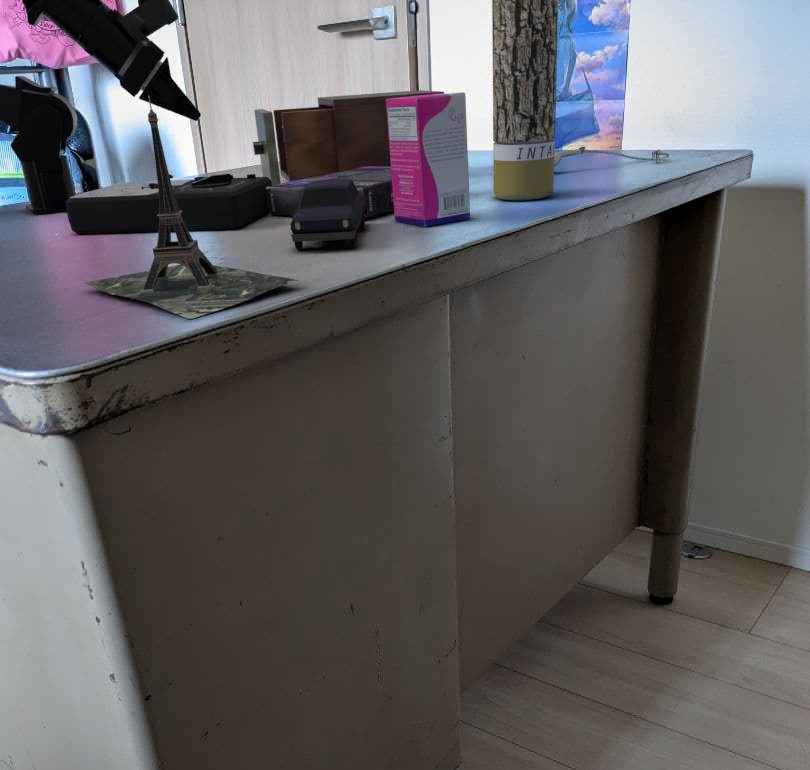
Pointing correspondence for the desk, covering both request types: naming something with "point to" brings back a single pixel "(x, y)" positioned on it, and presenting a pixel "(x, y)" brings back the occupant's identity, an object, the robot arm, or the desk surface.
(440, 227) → the desk surface
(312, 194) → the toy car
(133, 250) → the desk surface
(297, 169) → the drawer
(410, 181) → the supplement box
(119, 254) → the desk surface
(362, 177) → the box
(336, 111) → the cabinet
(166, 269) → the eiffel tower figurine
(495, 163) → the paper tube
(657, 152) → the thin grey pronged rod
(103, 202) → the multimeter
